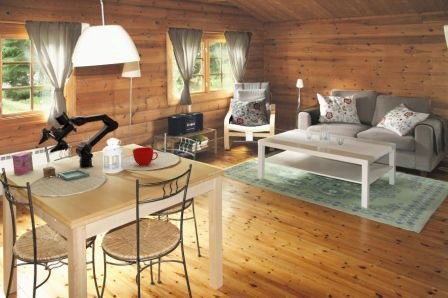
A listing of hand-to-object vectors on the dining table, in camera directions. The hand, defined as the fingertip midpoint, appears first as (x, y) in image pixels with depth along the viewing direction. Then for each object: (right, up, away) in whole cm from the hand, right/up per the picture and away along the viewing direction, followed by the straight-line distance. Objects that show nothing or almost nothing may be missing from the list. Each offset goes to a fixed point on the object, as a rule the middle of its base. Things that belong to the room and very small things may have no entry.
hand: (44, 148), depth 246 cm
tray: (+17, -16, +1) cm, 23 cm away
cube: (+3, -16, +2) cm, 17 cm away
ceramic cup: (+55, -11, +26) cm, 61 cm away
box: (-16, -15, +10) cm, 24 cm away
